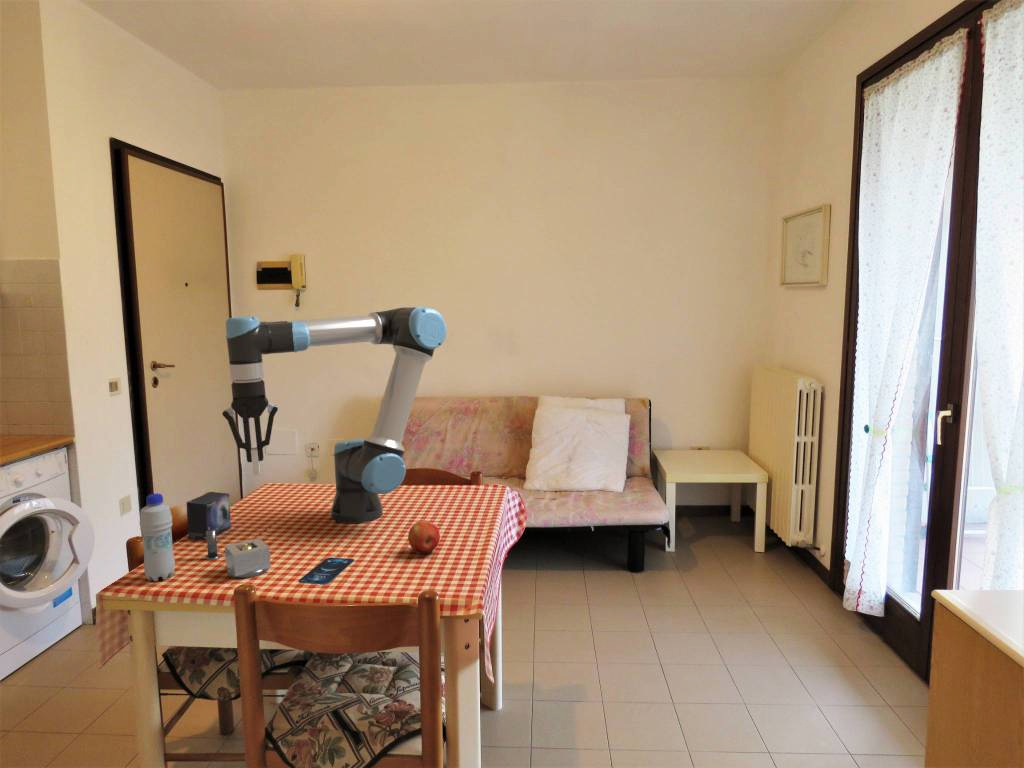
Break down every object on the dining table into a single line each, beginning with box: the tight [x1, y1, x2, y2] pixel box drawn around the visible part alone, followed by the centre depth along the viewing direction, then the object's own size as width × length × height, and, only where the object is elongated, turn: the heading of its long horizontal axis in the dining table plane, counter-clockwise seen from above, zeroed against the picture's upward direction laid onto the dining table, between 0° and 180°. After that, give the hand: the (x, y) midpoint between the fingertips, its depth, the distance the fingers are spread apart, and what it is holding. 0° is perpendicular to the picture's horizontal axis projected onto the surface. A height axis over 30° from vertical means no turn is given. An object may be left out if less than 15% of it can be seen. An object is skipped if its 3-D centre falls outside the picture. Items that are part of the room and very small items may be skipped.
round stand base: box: [227, 545, 269, 580], centre depth 155 cm, size 9×9×6 cm
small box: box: [185, 491, 232, 541], centre depth 181 cm, size 11×6×10 cm, turn 168°
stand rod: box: [205, 529, 221, 561], centre depth 163 cm, size 3×3×7 cm
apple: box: [407, 519, 441, 555], centre depth 165 cm, size 8×8×8 cm
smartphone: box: [298, 557, 355, 585], centre depth 155 cm, size 8×1×15 cm
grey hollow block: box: [224, 538, 271, 576], centre depth 155 cm, size 8×8×5 cm
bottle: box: [139, 493, 176, 582], centre depth 151 cm, size 7×7×20 cm
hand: (256, 474), depth 163 cm, fingers closed
